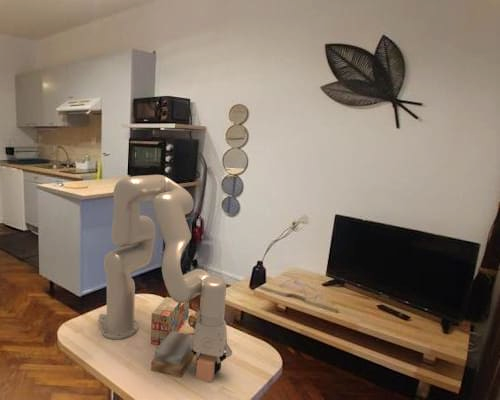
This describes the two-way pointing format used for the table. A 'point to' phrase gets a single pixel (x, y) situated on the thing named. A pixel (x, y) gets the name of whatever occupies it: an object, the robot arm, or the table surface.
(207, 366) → the terracotta brick
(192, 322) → the lion figurine
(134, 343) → the table surface
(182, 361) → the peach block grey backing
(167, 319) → the stack of blocks
